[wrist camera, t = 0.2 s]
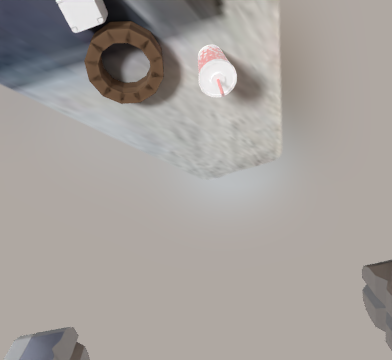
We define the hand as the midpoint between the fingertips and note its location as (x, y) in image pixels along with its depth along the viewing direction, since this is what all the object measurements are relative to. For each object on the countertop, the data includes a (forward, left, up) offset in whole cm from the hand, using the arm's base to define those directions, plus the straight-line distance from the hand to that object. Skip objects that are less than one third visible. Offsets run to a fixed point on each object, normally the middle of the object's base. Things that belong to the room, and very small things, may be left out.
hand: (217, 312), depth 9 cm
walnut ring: (+15, 0, -52) cm, 54 cm away
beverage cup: (+8, +13, -52) cm, 54 cm away
